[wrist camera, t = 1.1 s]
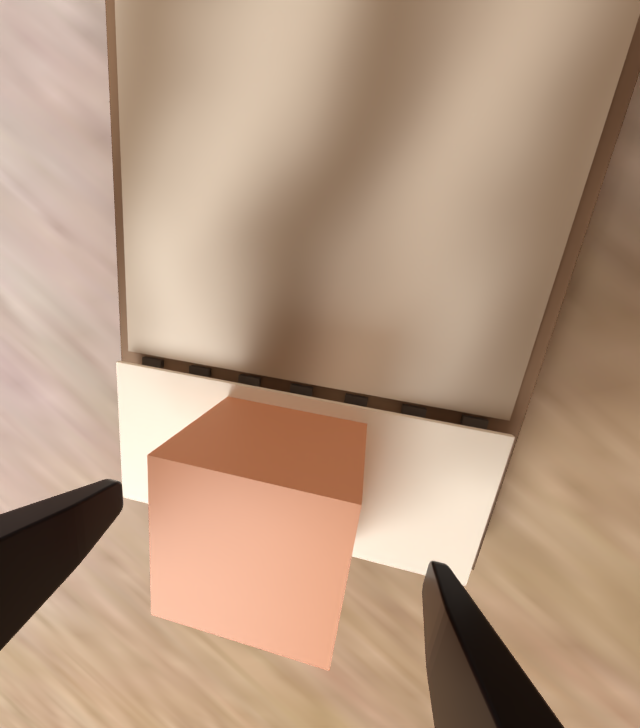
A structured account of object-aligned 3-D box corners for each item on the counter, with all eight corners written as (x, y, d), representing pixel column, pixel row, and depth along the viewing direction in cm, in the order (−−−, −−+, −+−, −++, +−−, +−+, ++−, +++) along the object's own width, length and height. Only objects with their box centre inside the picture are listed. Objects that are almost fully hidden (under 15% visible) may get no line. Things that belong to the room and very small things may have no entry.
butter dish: (511, 434, 10) (609, 539, 6) (464, 580, 11) (513, 744, 7) (120, 360, 12) (-16, 399, 8) (126, 493, 13) (16, 584, 9)
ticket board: (632, 7, 8) (686, -52, 7) (464, 542, 13) (475, 574, 11) (136, 5, 10) (97, -41, 9) (147, 466, 15) (123, 485, 14)
